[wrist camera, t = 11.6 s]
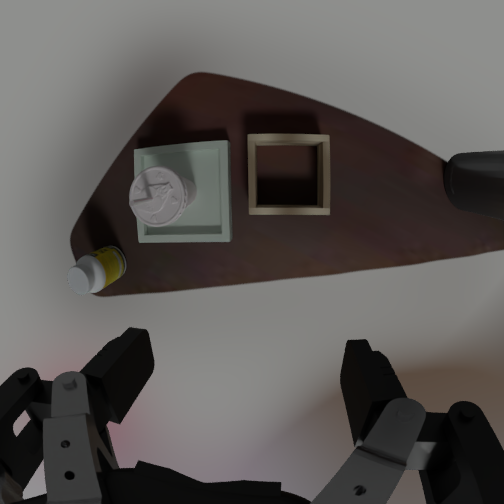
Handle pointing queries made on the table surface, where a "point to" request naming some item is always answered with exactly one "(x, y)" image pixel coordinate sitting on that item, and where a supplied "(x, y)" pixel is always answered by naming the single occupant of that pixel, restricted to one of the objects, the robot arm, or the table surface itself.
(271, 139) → the holder
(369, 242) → the table surface
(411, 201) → the table surface
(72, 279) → the supplement bottle
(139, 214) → the smoothie
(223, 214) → the tray
